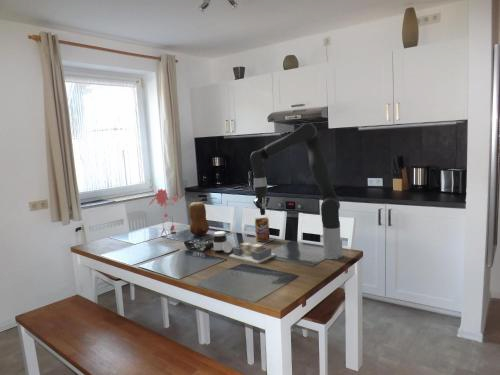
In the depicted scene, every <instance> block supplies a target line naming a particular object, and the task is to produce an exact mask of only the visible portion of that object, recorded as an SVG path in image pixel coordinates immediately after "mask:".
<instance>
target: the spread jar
mask: <svg viewBox="0 0 500 375" xmlns="http://www.w3.org/2000/svg"><path fill="white" fill-rule="evenodd" d="M213 234H214V235H213V236H214V237H213V242H212V244H213V249H214V250H213V251H214V252H215V253H226V254H229V253H231V252H232V251H233V248H232V247H233V246H232V244H231V242H229V241H228V237H227V235H226V231H223V230H222V231H220V230H219V231H215V232H214V233H213Z"/></svg>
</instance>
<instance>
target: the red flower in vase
mask: <svg viewBox="0 0 500 375" xmlns="http://www.w3.org/2000/svg"><path fill="white" fill-rule="evenodd" d="M178 199H179V196H178V195H177V194H176V195H175V196H173V202H172V203H167V201H169V198H168V193H167V189H163V188H160V189H158V190H157V192H156V193H155V197H153V199H152V200H151V201H150V202H149V204H148V205H149V206H150V205H151V204H153V202H155V200H156V201H157V204H159V206H160V207H163V206H164V208H166V207H167V205H170V206H174V203H175V202H177V201H178ZM167 217H169V218H171V223H172V224H171V226H170V228H169V229H170V232H173V231H174V233H175V232H176V229H175V225H174V223H173V222H174V221H173V219H174V218H173V216H170V215H168V214H167V213H164V214H163V217H162V221H164V219H165V218H167ZM181 231H182V230H180V232H181ZM163 233H165V236H168V234H167V232H166V229H165V226H164V223H162V231H161V232H160V236H162V235H163ZM176 233H177V232H176Z"/></svg>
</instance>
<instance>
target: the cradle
mask: <svg viewBox="0 0 500 375" xmlns="http://www.w3.org/2000/svg"><path fill="white" fill-rule="evenodd" d="M275 256H276V253H274V252H272V248H271V247H267V246H263V250H262V251H260V252H257V251H253V252H252V256H250V255H244V254H242V251H241V248H240V244H239V245H236V246H234V247H233V248H232V253H231V254H229V255H228V257H229V258H232V259H235V260H240V261H244V262H248V263H253V264H255V265H257V264H261V263H262V262H265V261H267V260H268V259H271V258H273V257H275Z"/></svg>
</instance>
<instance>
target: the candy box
mask: <svg viewBox="0 0 500 375" xmlns="http://www.w3.org/2000/svg"><path fill="white" fill-rule="evenodd" d="M254 228H255V230H254V231H255V242H264V241H266V242H267V241H270V222H269V217H268V216H265V217H254Z"/></svg>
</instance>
